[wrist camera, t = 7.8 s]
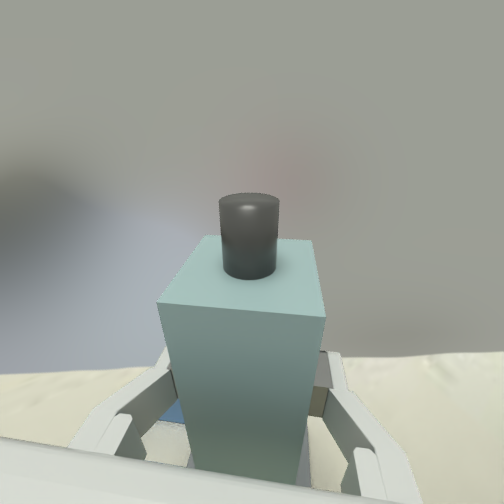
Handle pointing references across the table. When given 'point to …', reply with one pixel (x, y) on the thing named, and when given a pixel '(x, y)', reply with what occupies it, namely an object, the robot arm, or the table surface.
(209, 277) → the capped teal pillar
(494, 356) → the table surface
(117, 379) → the table surface
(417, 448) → the table surface
